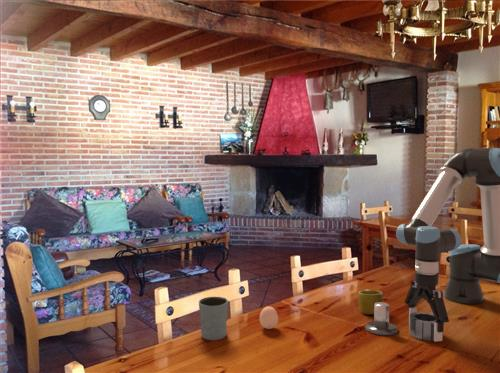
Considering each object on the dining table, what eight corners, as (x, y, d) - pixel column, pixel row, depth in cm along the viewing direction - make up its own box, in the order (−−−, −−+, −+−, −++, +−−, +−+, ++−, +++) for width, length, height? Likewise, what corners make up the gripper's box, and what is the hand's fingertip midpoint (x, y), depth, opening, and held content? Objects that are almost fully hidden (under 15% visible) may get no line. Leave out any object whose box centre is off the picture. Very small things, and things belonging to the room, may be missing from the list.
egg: (257, 330, 159) (256, 308, 158) (262, 323, 165) (262, 302, 164) (275, 333, 156) (275, 311, 156) (280, 326, 163) (280, 304, 162)
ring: (428, 327, 161) (428, 311, 160) (447, 338, 151) (447, 321, 151) (403, 330, 158) (404, 313, 158) (421, 342, 149) (422, 324, 148)
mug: (388, 313, 169) (380, 287, 171) (362, 320, 172) (354, 294, 173) (387, 309, 181) (379, 284, 183) (362, 315, 183) (355, 290, 185)
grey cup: (205, 343, 149) (205, 307, 148) (194, 332, 158) (194, 298, 157) (233, 337, 153) (233, 302, 152) (221, 327, 162) (220, 294, 161)
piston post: (386, 322, 166) (386, 298, 165) (404, 333, 155) (404, 308, 155) (359, 325, 163) (360, 301, 162) (375, 337, 152) (376, 311, 152)
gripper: (395, 264, 164) (394, 320, 166) (442, 283, 140) (439, 349, 142) (413, 262, 166) (412, 318, 168) (462, 281, 142) (459, 346, 144)
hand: (424, 332), depth 155 cm, fingers open, 13 cm apart
